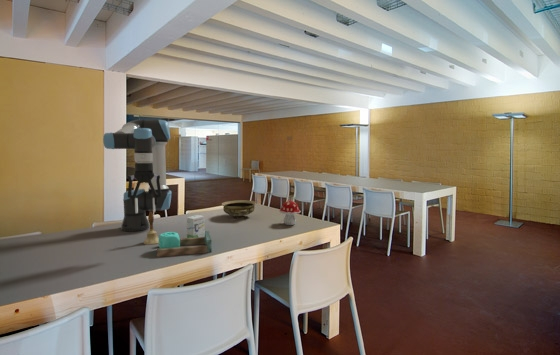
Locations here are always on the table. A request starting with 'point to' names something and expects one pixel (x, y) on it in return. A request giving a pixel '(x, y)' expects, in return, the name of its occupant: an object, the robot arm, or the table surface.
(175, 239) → the decorative dice
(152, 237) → the hand bell
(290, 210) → the decorative mushroom
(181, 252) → the channel
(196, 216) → the ink box
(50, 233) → the table surface
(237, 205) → the ceramic bowl
